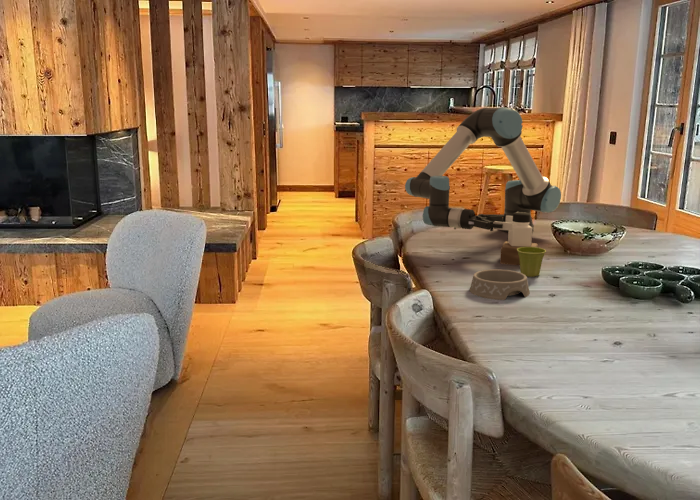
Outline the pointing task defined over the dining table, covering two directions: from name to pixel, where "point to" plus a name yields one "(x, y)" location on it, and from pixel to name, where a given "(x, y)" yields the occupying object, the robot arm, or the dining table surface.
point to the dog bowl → (499, 284)
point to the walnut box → (511, 254)
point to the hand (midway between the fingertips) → (517, 223)
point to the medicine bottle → (520, 230)
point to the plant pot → (530, 260)
